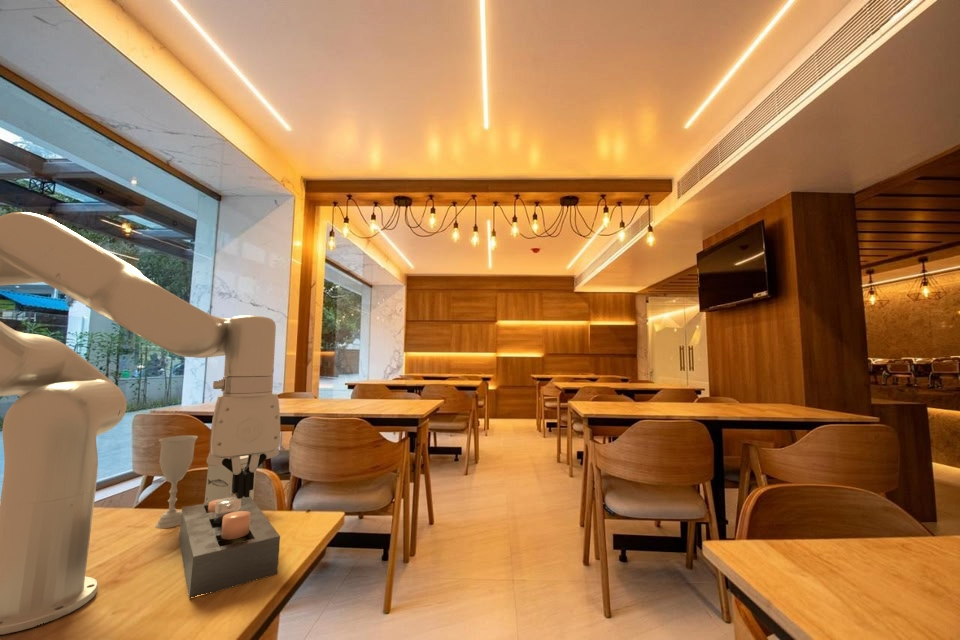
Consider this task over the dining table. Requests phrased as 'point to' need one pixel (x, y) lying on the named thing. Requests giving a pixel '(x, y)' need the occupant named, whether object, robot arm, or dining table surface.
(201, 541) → the knob housing
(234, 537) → the near knob
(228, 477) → the supplement box
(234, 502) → the middle knob
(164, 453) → the chalice
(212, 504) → the far knob
